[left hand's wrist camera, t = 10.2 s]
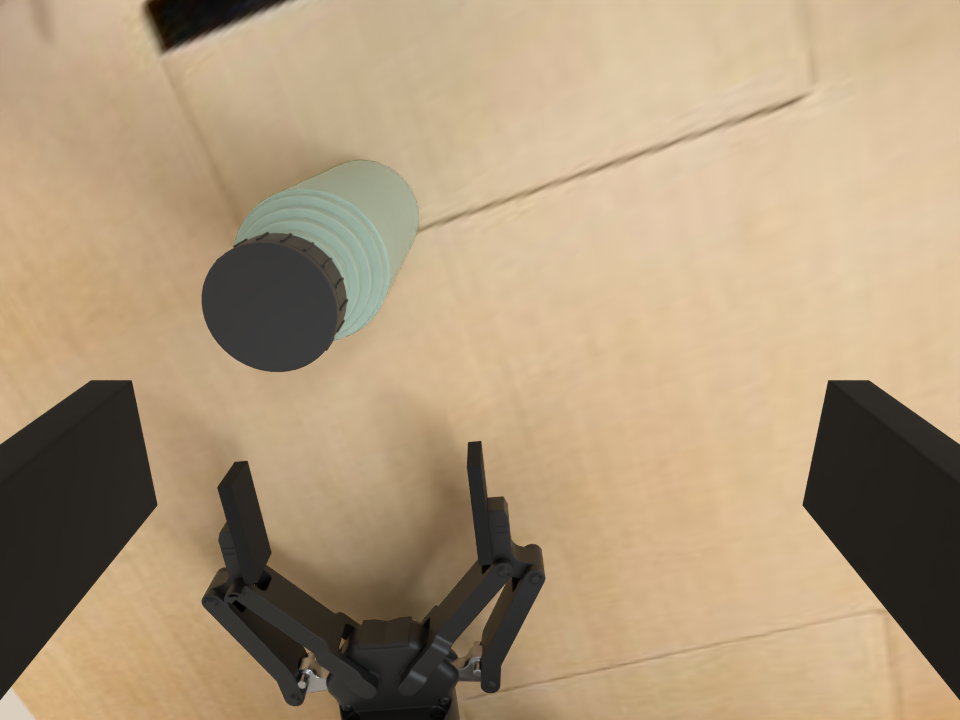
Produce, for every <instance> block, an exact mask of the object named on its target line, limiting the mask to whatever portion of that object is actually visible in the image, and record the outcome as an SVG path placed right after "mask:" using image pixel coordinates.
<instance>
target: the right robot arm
mask: <svg viewBox="0 0 960 720" xmlns="http://www.w3.org/2000/svg"><path fill="white" fill-rule="evenodd" d="M467 471H468V479H469V487H470V495H471V504H472V512H473V520H474V528H475V536H476V545H477V553H478V560H477V561H476V562H475V564H474V565H473V566H472V567H471V568H470V570H469V571H468V572H467V573H466V574H465V575H464V577H463V578H462V579H461V580H460V581H459V583H458V584H457V585H456V586H455V587H454V589H453V590H452V591H451V592H450V593H449V594H448V596H447V597H446V598H445V599H444V600H443V602H442V603H441V604H440V605H439V606H437V605H436V606H434V607H433V608H432V610H431V611H430V612H429V613H428V614H427V616H426V617H425V618H424V619H423V620H422V622H421V623H419V622H416V621H412V618H411V617H403V618H397V619H394V620H390V621H382V620H363V624H362V625H359V624H358V623H356V622H355V621H354V620H352V619H351V618H349V617H348V616H347V615H345V614H344V613H341V612H339V613H337V614H335V613H333V612H332V611H330V610H329V609H327V608H326V607H325V606H323V605H322V604H320V603H319V602H318V601H316V600H315V599H313V598H312V597H311V596H309V595H308V594H306V593H305V592H304V591H302V590H301V589H299V588H298V587H296V586H295V585H294V584H292V583H291V582H289V581H288V580H287V579H285V578H284V577H282V576H281V575H280V574H278V573H277V572H275V571H274V570H273V569H271V568H270V567H268V566H267V565H266V563H267V561H268V559H269V557H270V555H271V549H270V545H269V541H268V538H267V534H266V530H265V526H264V522H263V518H262V515H261V511H260V507H259V503H258V499H257V495H256V492H255V488H254V484H253V480H252V476H251V472H250V469H249V465H248V461H240V462H234V464H233V465H232V467H231V468H230V470H229V471H228V473H227V474H226V476H225V477H224V478H223V480H222V481H221V483H220V484H219V486H218V487H217V488H218V492H219V495H220V499H221V502H222V506H223V509H224V513H225V516H226V520H227V522H226V524H225V525H224V527H223V528H222V530H221V532H220V534H219V540H218V541H219V544H220V548H221V551H222V554H223V558H224V561H225V565H226V568H221V569H220V570H218V572H217V573H216V575H215V577H214V579H213V580H212V582H211V584H210V586H209V588H208V589H207V591H206V593H205V595H204V596H203V598H202V605H203V606H204V608H205V609H206V610H207V611H208V612H209V613H210V614H211V615H212V616H213V617H214V618H215V619H216V620H217V621H218V622H219V623H220V624H221V625H222V626H223V627H224V628H225V629H226V630H227V631H228V632H229V633H230V634H231V635H232V636H233V637H234V638H235V639H236V640H237V641H238V642H239V643H240V644H241V645H242V646H243V647H244V648H245V649H246V650H247V651H248V652H249V653H250V654H251V655H252V656H253V657H254V658H255V659H256V661H257V662H258V663H259V664H260V665H261V666H262V667H263V668H264V669H265V670H266V671H267V672H268V673H269V674H270V675H271V676H272V677H273V678H274V679H275V680H276V681H277V683H278V685H279V687H280V690H281V692H282V694H283V697H284V699H285V701H286V702H287V703H288V704H289V705H292V706H299V705H301V704H302V703H303V701H304V698H305V695H306V693H312V692H318V691H324V690H328V691H329V692H330V694H331V695H332V696H334V697H335V699H336V700H337V701H338V703H339V708H340V714H341V720H460V717H459V711H458V704H457V697H456V691H455V686H456V684H457V682H458V681H481V688H482V690H483V691H484V692H486V693H495V692H497V691H498V690H499V688H500V677H501V665H502V663H503V661H504V659H505V657H506V655H507V653H508V651H509V649H510V647H511V645H512V643H513V641H514V640H515V638H516V636H517V634H518V632H519V630H520V628H521V626H522V624H523V622H524V620H525V618H526V616H527V614H528V612H529V611H530V609H531V607H532V605H533V603H534V601H535V599H536V597H537V595H538V593H539V591H540V589H541V587H542V585H543V584H544V581H545V573H544V564H543V557H542V550H541V548H540V547H539V546H538V545H536V544H529V545H527V546H525V547H522V546H518V545H516V544H515V543H514V542H513V541H512V539H511V535H510V525H509V514H508V504H507V502H506V500H505V499H504V497H491V498H487V489H486V480H485V471H484V462H483V453H482V444H481V441H476V442H468V455H467ZM506 582H507V583H506ZM505 583H506V585H505V587H504V589H503V591H502V593H501V595H500V597H499V599H498V601H497V603H496V605H495V607H494V609H493V611H492V613H491V615H490V617H489V619H488V621H487V623H486V625H485V628H484V630H483V634H482V640H481V641H476V642H474V647H472V648H471V649H470V650H469V653H468V655H467V656H465V657H463V658H458V656H457V654H456V653H455V652H454V651H453V650H452V649H451V646H452V644H453V643H454V641H455V640H456V639H457V638H458V637H459V636H460V635H461V634H462V632H463V631H464V630H465V629H466V628H467V627H468V626H469V624H470V623H471V622H472V621H473V620H474V619H475V618H476V616H477V615H478V614H479V613H480V612H481V611H482V610H483V608H484V607H485V606H486V605H487V604H488V603H489V602H490V600H491V599H492V598H493V597H494V596H495V595H496V594H497V592H498V591H499V590H500V589H501V588H502V587H503V586H504V584H505ZM254 584H255V585H254ZM341 638H343V639H345V640H346V641H345V642H344V644H343V645H342V647H341V648H340V650H339V645H340V642H341ZM303 646H304V647H305V648H307V649H308V650H310V651H311V652H313V653H314V654H313V653H307V652H306V650H305V648H304V647H303ZM315 657H316V661H317V662H316V661H315Z"/></svg>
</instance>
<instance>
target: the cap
mask: <svg viewBox="0 0 960 720" xmlns="http://www.w3.org/2000/svg"><path fill="white" fill-rule="evenodd" d="M233 247H234V248H233V249H231V250H230V251H228V252H226V253H225V254H224V255H222V256H221V257H220V258H218V259H217V260H216V262H215V263H214V264H213V266H212V267H211V269H210V270H209V272H208V274H207V276H206V278H205V282H204V285H203V290H202V309H203V314H204V318H205V321H206V324H207V326H208V329H209V330H210V332H211V334H212V336H213V337H214V339H215V340H216V341H217V343H218V344H219V345H220V346H221V347H222V348H223V349H224V350H225V351H226V352H227V353H228V354H229V355H231V356H232V357H233V358H235V359H236V360H238V361H240V362H241V363H243V364H245V365H247V366H250V367H253V368H255V369H259V370H263V371H270V372H285V371H291V370H296V369H299V368H302V367H304V366H306V365H308V364H310V363H312V362H313V361H314V360H316V359H317V358H318V357H319V356H321V355H322V354H323V353H324V351H325V350H326V351H327V350H328V348H329V347H330V345H331V344H332V342H333V340H334V339H335V338H334V337H335V335H336V333H338V332H339V330H340V329H341V327H342V325H343V324H344V322H345V320H344V317H345V313H346V306H347V303H348V299H347V295H346V289H345V285H344V282H343V281H344V277H343V278H342V276H341V274H340V272H339V270H338V268H337V267H336V265H335V264H334V262H333V261H332V258H330V257H329V256H328V255H327V254H326V253H325V252H324V251H322V250H321V249H320V248H319V247H317V246H316V245H314V242H309V241H307V240H305V239H303V238H300V237H297V236H294V235H292V233H289V234H284V233H269V232H265V233H264V234H262V235H258V236H255V237H253V238H250V239H247V238H246V239H244V240H242V241H241V242H239V243H237V244H236V245H234V246H233Z"/></svg>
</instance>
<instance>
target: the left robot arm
mask: <svg viewBox="0 0 960 720" xmlns="http://www.w3.org/2000/svg"><path fill="white" fill-rule="evenodd" d="M156 507H157V500H156V496H155V491H154V486H153V481H152V476H151V471H150V467H149V462H148V457H147V452H146V447H145V442H144V437H143V433H142V428H141V423H140V418H139V413H138V408H137V403H136V399H135V394H134V389H133V384H132V380H91V381H89V382H88V383H87V384H85V385H84V386H82V387H81V388H80V389H78V390H77V391H75V392H74V393H73V394H71V395H70V396H68V397H67V398H65V399H64V400H63V401H61V402H60V403H58V404H57V405H56V406H54V407H53V408H51V409H50V410H48V411H47V412H46V413H44V414H43V415H41V416H40V417H39V418H37V419H36V420H34V421H33V422H31V423H30V424H29V425H27V426H26V427H24V428H23V429H22V430H20V431H19V432H17V433H16V434H14V435H13V436H12V437H10V438H9V439H7V440H6V441H5V442H3V443H2V444H0V700H1V699H2V697H3V696H4V695H5V694H6V692H7V691H8V690H9V689H10V687H11V686H12V685H13V684H14V682H15V681H16V680H17V679H18V678H19V676H20V675H21V674H22V673H23V671H24V670H25V669H26V668H27V666H28V665H29V664H30V663H31V661H32V660H33V659H34V658H35V656H36V655H37V654H38V653H39V651H40V650H41V649H42V648H43V647H44V645H45V644H46V643H47V642H48V640H49V639H50V638H51V637H52V635H53V634H54V633H55V632H56V630H57V629H58V628H59V627H60V625H61V624H62V623H63V622H64V621H65V619H66V618H67V617H68V616H69V614H70V613H71V612H72V611H73V609H74V608H75V607H76V606H77V604H78V603H79V602H80V601H81V599H82V598H83V597H84V596H85V594H86V593H87V592H88V591H89V590H90V588H91V587H92V586H93V585H94V583H95V582H96V581H97V580H98V578H99V577H100V576H101V575H102V573H103V572H104V571H105V570H106V568H107V567H108V566H109V565H110V564H111V562H112V561H113V560H114V559H115V557H116V556H117V555H118V554H119V552H120V551H121V550H122V549H123V547H124V546H125V545H126V544H127V542H128V541H129V540H130V539H131V537H132V536H133V535H134V534H135V533H136V531H137V530H138V529H139V528H140V526H141V525H142V524H143V523H144V521H145V520H146V519H147V518H148V516H149V515H150V514H151V513H152V511H153V510H154V509H155V508H156ZM803 507H804V508H805V509H806V510H807V511H808V513H809V514H810V515H811V516H812V518H813V519H814V520H815V521H816V523H817V524H818V525H819V526H820V528H821V529H822V530H823V531H824V533H825V534H826V535H827V536H828V537H829V539H830V540H831V541H832V542H833V544H834V545H835V546H836V547H837V549H838V550H839V551H840V552H841V554H842V555H843V556H844V557H845V559H846V560H847V561H848V562H849V564H850V565H851V566H852V567H853V568H854V570H855V571H856V572H857V573H858V575H859V576H860V577H861V578H862V580H863V581H864V582H865V583H866V585H867V586H868V587H869V588H870V590H871V591H872V592H873V593H874V594H875V596H876V597H877V598H878V599H879V601H880V602H881V603H882V604H883V606H884V607H885V608H886V609H887V611H888V612H889V613H890V614H891V616H892V617H893V618H894V619H895V621H896V622H897V623H898V624H899V625H900V627H901V628H902V629H903V630H904V632H905V633H906V634H907V635H908V637H909V638H910V639H911V640H912V642H913V643H914V644H915V645H916V647H917V648H918V649H919V650H920V651H921V653H922V654H923V655H924V656H925V658H926V659H927V660H928V661H929V663H930V664H931V665H932V666H933V668H934V669H935V670H936V671H937V673H938V674H939V675H940V676H941V678H942V679H943V680H944V681H945V682H946V684H947V685H948V686H949V687H950V689H951V690H952V691H953V692H954V694H955V695H956V696H957V697H958V699H959V700H960V444H958V443H957V442H955V441H954V440H953V439H951V438H950V437H948V436H947V435H946V434H944V433H943V432H941V431H940V430H938V429H937V428H936V427H934V426H933V425H931V424H930V423H929V422H927V421H926V420H924V419H923V418H921V417H920V416H919V415H917V414H916V413H914V412H913V411H912V410H910V409H909V408H907V407H906V406H904V405H903V404H902V403H900V402H899V401H897V400H896V399H895V398H893V397H892V396H890V395H889V394H887V393H886V392H885V391H883V390H882V389H880V388H879V387H878V386H876V385H875V384H873V383H872V382H871V381H869V380H828V384H827V389H826V394H825V399H824V403H823V408H822V413H821V418H820V423H819V428H818V433H817V437H816V442H815V447H814V452H813V457H812V462H811V467H810V471H809V476H808V481H807V486H806V491H805V496H804V500H803Z"/></svg>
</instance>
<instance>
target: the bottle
mask: <svg viewBox="0 0 960 720" xmlns="http://www.w3.org/2000/svg"><path fill="white" fill-rule="evenodd" d="M418 223H419V213H418V206H417V203H416V199H415V197H414V194H413V192H412V191H411V189H410V187H409V186H408V184H407V183H406V182H405V180H404V179H403V178H402V177H401V176H400V175H398V174H397V173H396V172H395V171H393V170H392V169H390V168H389V167H387V166H385V165H382V164H380V163H377V162H373V161H367V160H357V161H350V162H346V163H343V164H341V165H338V166H336V167H334V168H332V169H330V170H327V171H325V172H323V173H321V174H319V175H316V176H314V177H312V178H310V179H308V180H305V181H303V182H301V183H299V184H296V185H294V186H292V187H290V188H288V189H285V190H283V191H281V192H279V193H277V194H274V195H272V196H270V197H269V198H267V199H265V200H263V201H262V202H261V203H259V204H258V205H257V206H256V207H255V208H254V209H253V210H252V211H251V212H250V213H249V214H248V215H247V217H246V218H245V220H244V221H243V223H242V225H241V227H240V229H239V231H238V234H237V237H236V240H235V243H234V245H236V244H237V243H239V242H241V241H242V240H244V239H246V238H247V239H250V238H253V237H255V236H258V235H262V234H264V233H265V232H269V233H284V234H289V233H292V235H294V236H297V237H300V238H303V239H305V240H307V241H309V242H314V245H316V246H317V247H319V248H320V249H321V250H322V251H324V252H325V253H326V254H327V255H328V256H329V257H330V258H332V261H333V262H334V264H335V265H336V267H337V268H338V270H339V272H340V274H341V276H342V278H343V277H344V281H343V282H344V285H345V289H346V295H347V299H348V303H347V306H346V313H345V317H344V320H345V322H344V324H343V325H342V327H341V329H340V330H339V332H338V333H336V335H335V337H334V338H335V339H334V340H333V341H335V340H338V339H341V338H344V337H347V336H349V335H351V334H353V333H355V332H357V331H359V330H360V329H361V328H363V327H364V326H365V325H366V324H368V323H369V322H370V321H371V320H372V319H373V317H374V316H375V315H376V314H377V312H378V311H379V309H380V307H381V306H382V304H383V302H384V300H385V298H386V296H387V294H388V292H389V290H390V288H391V286H392V284H393V282H394V280H395V278H396V276H397V274H398V272H399V270H400V268H401V266H402V264H403V262H404V260H405V258H406V256H407V254H408V252H409V250H410V248H411V245H412V243H413V241H414V239H415V237H416V234H417V230H418ZM233 248H234V247H233Z"/></svg>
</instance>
